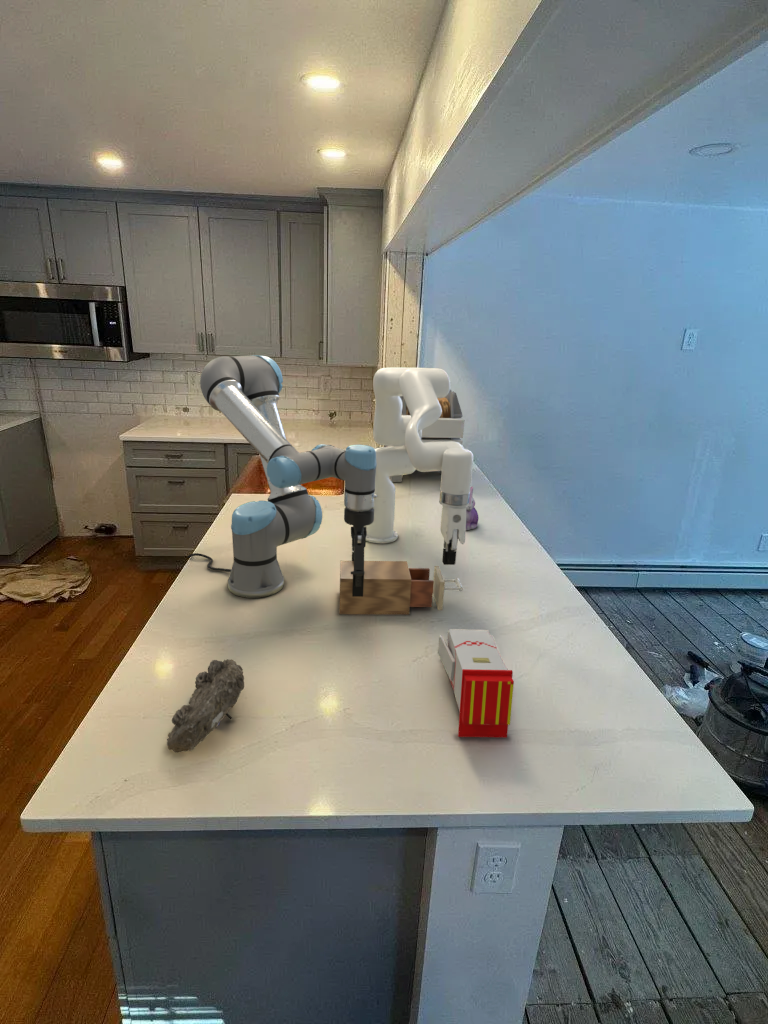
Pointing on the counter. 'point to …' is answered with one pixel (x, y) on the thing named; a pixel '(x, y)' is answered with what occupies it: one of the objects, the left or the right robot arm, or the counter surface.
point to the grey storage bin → (440, 425)
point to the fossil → (206, 705)
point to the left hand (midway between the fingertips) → (357, 584)
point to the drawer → (429, 587)
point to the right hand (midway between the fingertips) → (448, 563)
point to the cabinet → (376, 588)
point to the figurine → (471, 513)
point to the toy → (478, 682)
